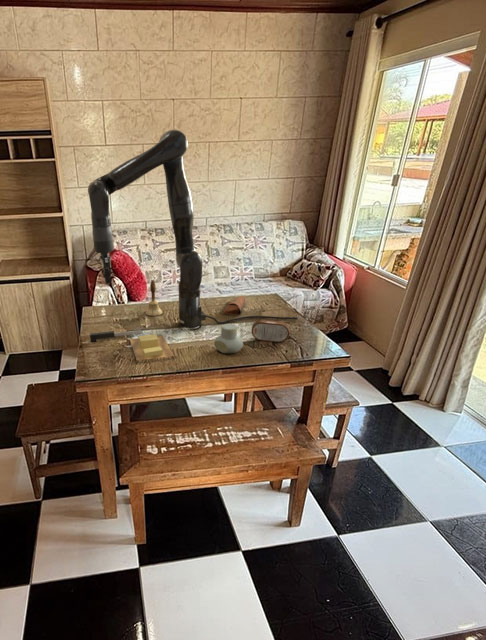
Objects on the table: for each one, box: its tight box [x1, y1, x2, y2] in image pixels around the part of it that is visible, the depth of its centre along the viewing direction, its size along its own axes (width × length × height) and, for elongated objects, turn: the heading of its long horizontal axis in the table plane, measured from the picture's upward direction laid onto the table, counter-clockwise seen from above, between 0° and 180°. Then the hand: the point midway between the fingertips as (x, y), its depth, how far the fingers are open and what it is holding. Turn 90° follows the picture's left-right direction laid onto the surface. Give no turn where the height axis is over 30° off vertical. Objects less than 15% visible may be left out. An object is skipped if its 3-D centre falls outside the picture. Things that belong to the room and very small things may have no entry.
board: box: [129, 335, 174, 361], centre depth 160 cm, size 14×20×1 cm
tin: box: [251, 319, 291, 343], centre depth 162 cm, size 15×3×8 cm, turn 71°
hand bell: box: [145, 279, 164, 317], centre depth 193 cm, size 8×8×16 cm
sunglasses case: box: [223, 295, 246, 316], centre depth 197 cm, size 18×7×7 cm
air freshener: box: [214, 323, 244, 354], centre depth 155 cm, size 11×8×10 cm
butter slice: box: [143, 346, 163, 358], centre depth 154 cm, size 7×2×4 cm
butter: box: [138, 333, 159, 349], centre depth 161 cm, size 7×5×4 cm
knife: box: [89, 329, 143, 343], centre depth 171 cm, size 22×2×3 cm, turn 102°
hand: (107, 280), depth 163 cm, fingers open, 8 cm apart
